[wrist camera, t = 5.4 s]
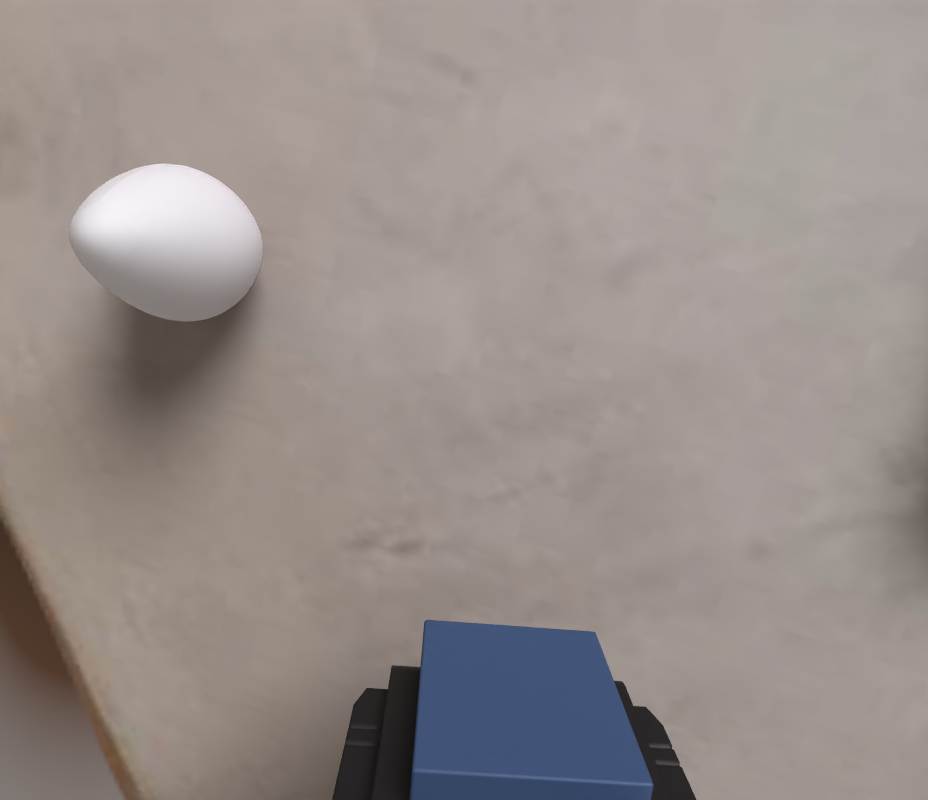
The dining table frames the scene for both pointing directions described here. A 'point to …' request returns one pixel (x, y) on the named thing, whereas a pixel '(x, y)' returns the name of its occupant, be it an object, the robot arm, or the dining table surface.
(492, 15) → the dining table surface
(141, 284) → the egg
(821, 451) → the dining table surface
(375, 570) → the dining table surface
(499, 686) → the block
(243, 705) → the dining table surface
